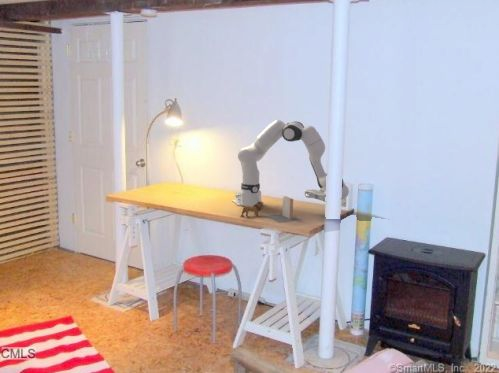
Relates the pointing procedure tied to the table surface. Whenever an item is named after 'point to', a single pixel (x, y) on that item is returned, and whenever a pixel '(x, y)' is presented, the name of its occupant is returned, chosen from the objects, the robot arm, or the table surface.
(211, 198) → the table surface
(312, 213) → the table surface
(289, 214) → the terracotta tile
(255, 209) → the lion figurine
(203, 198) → the table surface
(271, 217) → the rubber mat
